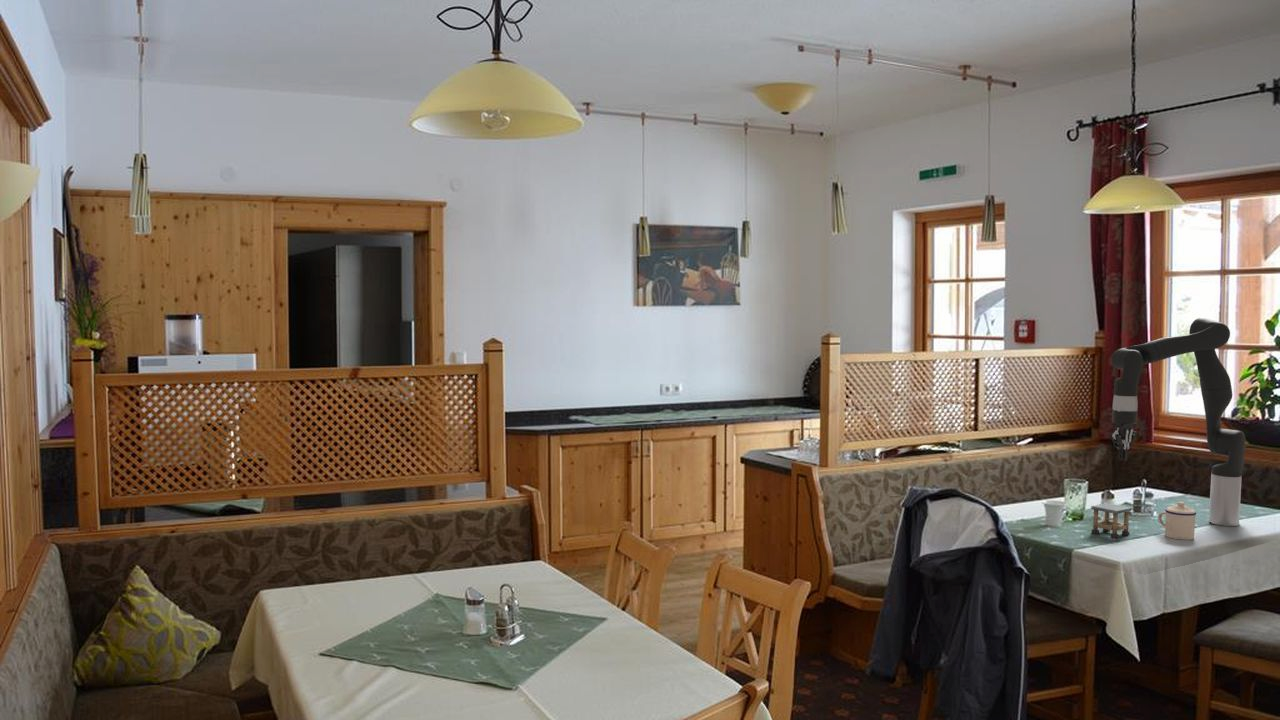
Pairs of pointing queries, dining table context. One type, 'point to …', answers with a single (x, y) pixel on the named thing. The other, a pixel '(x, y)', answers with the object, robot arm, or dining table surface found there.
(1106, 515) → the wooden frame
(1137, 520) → the dining table surface
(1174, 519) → the teacup with lid
